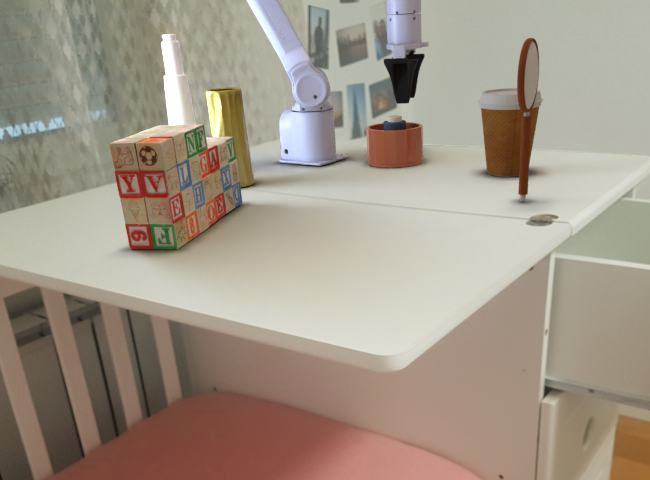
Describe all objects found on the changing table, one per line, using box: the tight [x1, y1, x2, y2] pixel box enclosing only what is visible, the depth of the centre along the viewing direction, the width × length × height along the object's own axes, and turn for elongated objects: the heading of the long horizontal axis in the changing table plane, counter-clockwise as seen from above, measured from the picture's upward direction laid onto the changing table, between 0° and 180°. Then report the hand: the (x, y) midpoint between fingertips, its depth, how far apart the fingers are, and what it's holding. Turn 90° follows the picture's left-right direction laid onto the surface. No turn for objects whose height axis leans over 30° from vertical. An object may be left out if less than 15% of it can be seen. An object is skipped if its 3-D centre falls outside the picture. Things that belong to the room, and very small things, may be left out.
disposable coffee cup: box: [477, 87, 544, 178], centre depth 109 cm, size 10×10×12 cm
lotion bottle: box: [382, 114, 407, 130], centre depth 121 cm, size 4×4×7 cm
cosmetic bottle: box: [160, 33, 197, 125], centre depth 114 cm, size 6×6×22 cm
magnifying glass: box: [516, 37, 540, 202], centre depth 90 cm, size 9×2×20 cm, turn 155°
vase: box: [205, 86, 256, 188], centre depth 110 cm, size 6×6×14 cm
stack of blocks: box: [109, 123, 243, 250], centre depth 90 cm, size 21×6×12 cm, turn 168°
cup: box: [365, 121, 424, 169], centre depth 122 cm, size 9×9×6 cm
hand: (405, 100), depth 124 cm, fingers open, 7 cm apart
